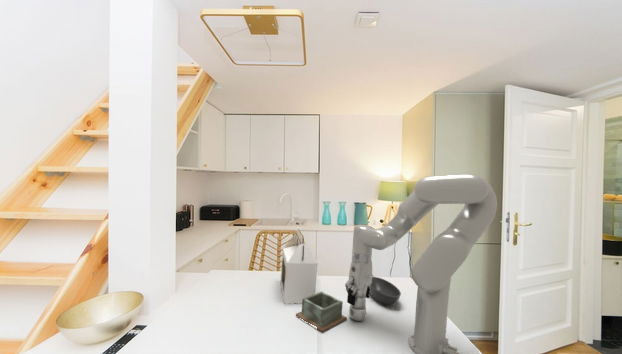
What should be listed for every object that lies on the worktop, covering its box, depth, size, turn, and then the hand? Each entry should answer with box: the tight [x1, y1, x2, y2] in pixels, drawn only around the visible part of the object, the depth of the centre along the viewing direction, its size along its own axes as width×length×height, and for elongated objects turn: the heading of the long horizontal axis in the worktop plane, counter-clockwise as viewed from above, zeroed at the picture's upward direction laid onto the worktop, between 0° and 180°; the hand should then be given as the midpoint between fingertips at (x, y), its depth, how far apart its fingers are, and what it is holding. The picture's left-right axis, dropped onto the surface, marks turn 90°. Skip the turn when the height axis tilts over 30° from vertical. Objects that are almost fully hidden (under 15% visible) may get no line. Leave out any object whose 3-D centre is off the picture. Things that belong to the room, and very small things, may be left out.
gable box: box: [280, 229, 319, 305], centre depth 124 cm, size 22×13×28 cm, turn 11°
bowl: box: [369, 276, 402, 308], centre depth 123 cm, size 12×22×6 cm, turn 14°
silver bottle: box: [348, 281, 368, 322], centre depth 104 cm, size 6×7×20 cm
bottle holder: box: [295, 291, 348, 334], centre depth 103 cm, size 14×14×7 cm
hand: (358, 300), depth 104 cm, fingers open, 9 cm apart
